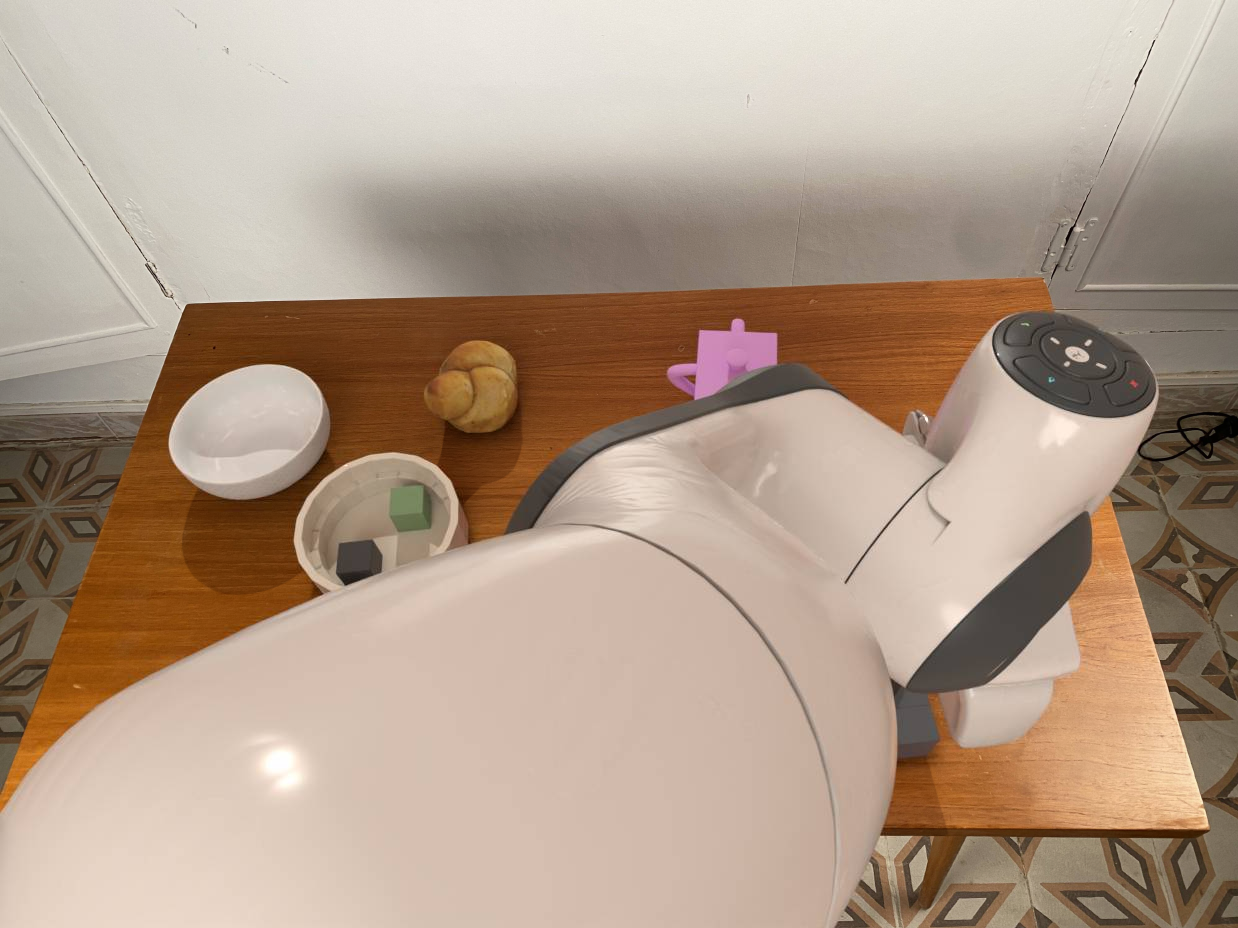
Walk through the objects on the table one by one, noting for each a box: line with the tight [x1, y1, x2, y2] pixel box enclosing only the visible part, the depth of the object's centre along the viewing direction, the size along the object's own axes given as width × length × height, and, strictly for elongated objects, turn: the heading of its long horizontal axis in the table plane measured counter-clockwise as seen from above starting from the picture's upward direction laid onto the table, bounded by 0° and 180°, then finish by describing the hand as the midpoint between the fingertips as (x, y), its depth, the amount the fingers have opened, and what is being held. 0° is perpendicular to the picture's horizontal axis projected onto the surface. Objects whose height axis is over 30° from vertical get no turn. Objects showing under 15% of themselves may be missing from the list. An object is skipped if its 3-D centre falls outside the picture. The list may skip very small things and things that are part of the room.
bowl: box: [293, 451, 469, 595], centre depth 88 cm, size 17×17×6 cm
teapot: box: [666, 318, 778, 400], centre depth 93 cm, size 18×14×10 cm
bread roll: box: [423, 340, 519, 434], centre depth 98 cm, size 13×10×8 cm
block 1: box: [336, 540, 383, 586], centre depth 86 cm, size 4×4×4 cm
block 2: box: [389, 485, 432, 532], centre depth 90 cm, size 4×4×4 cm
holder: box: [894, 686, 941, 760], centre depth 76 cm, size 9×9×5 cm
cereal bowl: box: [168, 363, 331, 501], centre depth 95 cm, size 17×17×7 cm
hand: (917, 626), depth 61 cm, fingers open, 6 cm apart
